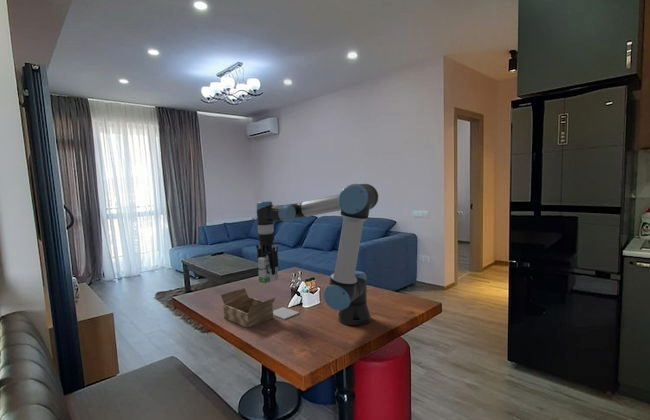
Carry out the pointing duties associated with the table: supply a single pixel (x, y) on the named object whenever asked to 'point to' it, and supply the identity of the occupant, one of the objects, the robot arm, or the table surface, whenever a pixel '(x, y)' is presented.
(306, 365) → the table surface
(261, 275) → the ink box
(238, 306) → the carton
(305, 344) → the table surface
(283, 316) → the felt mat
